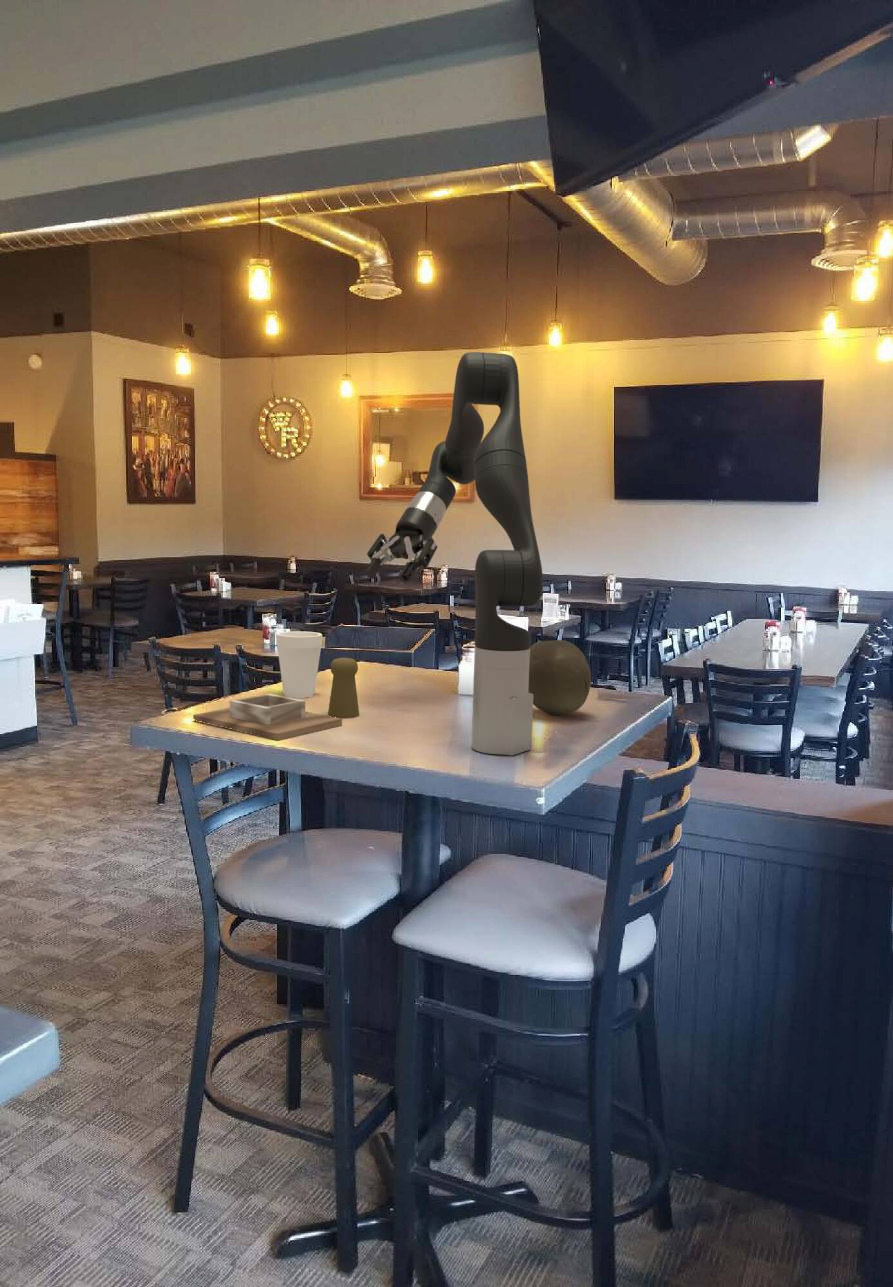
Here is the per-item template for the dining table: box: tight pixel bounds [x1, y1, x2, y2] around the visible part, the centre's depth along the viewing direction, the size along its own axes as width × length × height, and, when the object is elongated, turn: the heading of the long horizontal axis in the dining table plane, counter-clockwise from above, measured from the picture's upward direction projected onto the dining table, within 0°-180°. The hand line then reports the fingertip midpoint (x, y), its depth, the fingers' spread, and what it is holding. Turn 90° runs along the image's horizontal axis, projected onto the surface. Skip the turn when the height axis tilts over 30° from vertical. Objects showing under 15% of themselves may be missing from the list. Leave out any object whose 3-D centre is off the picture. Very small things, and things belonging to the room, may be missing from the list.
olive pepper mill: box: [327, 657, 360, 719], centre depth 184 cm, size 6×6×11 cm
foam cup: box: [275, 630, 323, 699], centre depth 202 cm, size 10×9×13 cm
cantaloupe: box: [528, 639, 592, 717], centre depth 189 cm, size 14×14×15 cm
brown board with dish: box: [192, 693, 343, 741], centre depth 176 cm, size 22×16×4 cm
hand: (385, 578), depth 191 cm, fingers open, 8 cm apart
